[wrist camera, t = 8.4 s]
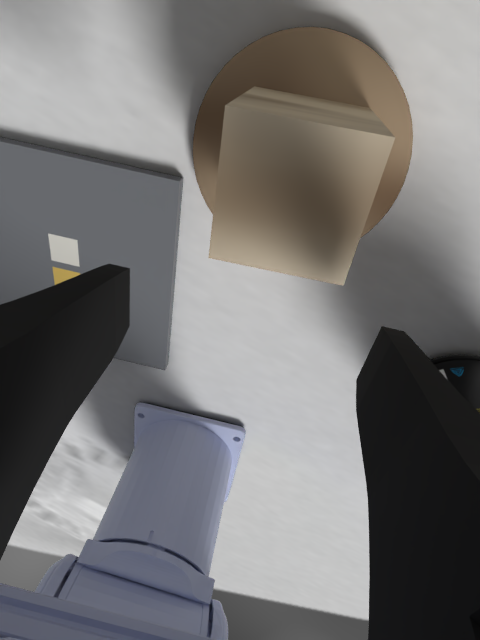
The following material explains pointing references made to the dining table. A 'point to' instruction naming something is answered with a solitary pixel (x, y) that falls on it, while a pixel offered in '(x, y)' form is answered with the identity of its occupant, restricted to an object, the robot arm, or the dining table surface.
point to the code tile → (91, 234)
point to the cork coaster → (314, 81)
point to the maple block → (296, 183)
